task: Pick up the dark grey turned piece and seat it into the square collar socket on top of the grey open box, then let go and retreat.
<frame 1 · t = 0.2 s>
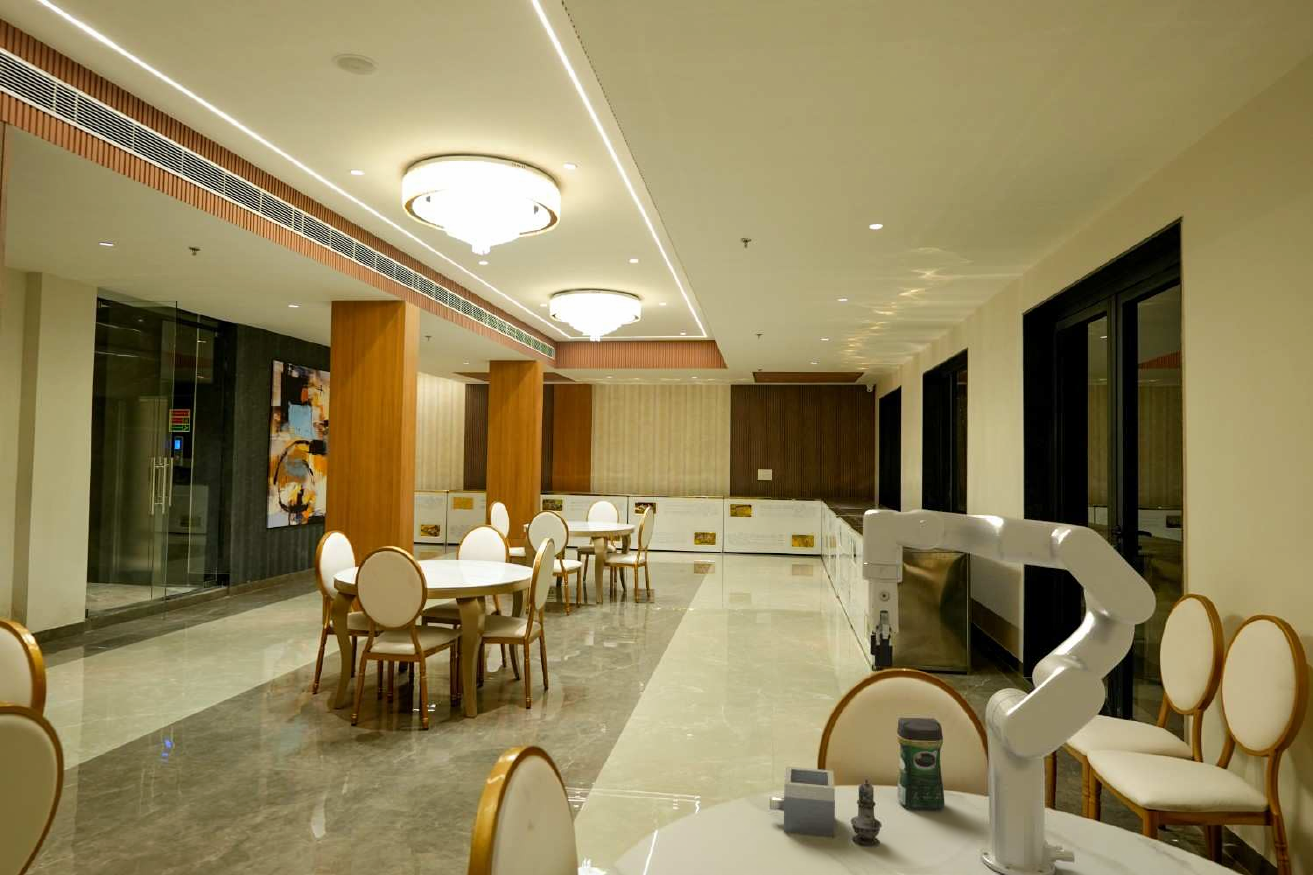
hand: (881, 660, 151), 36 cm above the table, tool pointing down, fingers open, 9 cm apart
dark grey turned piece: (866, 842, 152), on the table
coffee jar: (920, 805, 170), on the table
grey open box: (809, 824, 159), on the table
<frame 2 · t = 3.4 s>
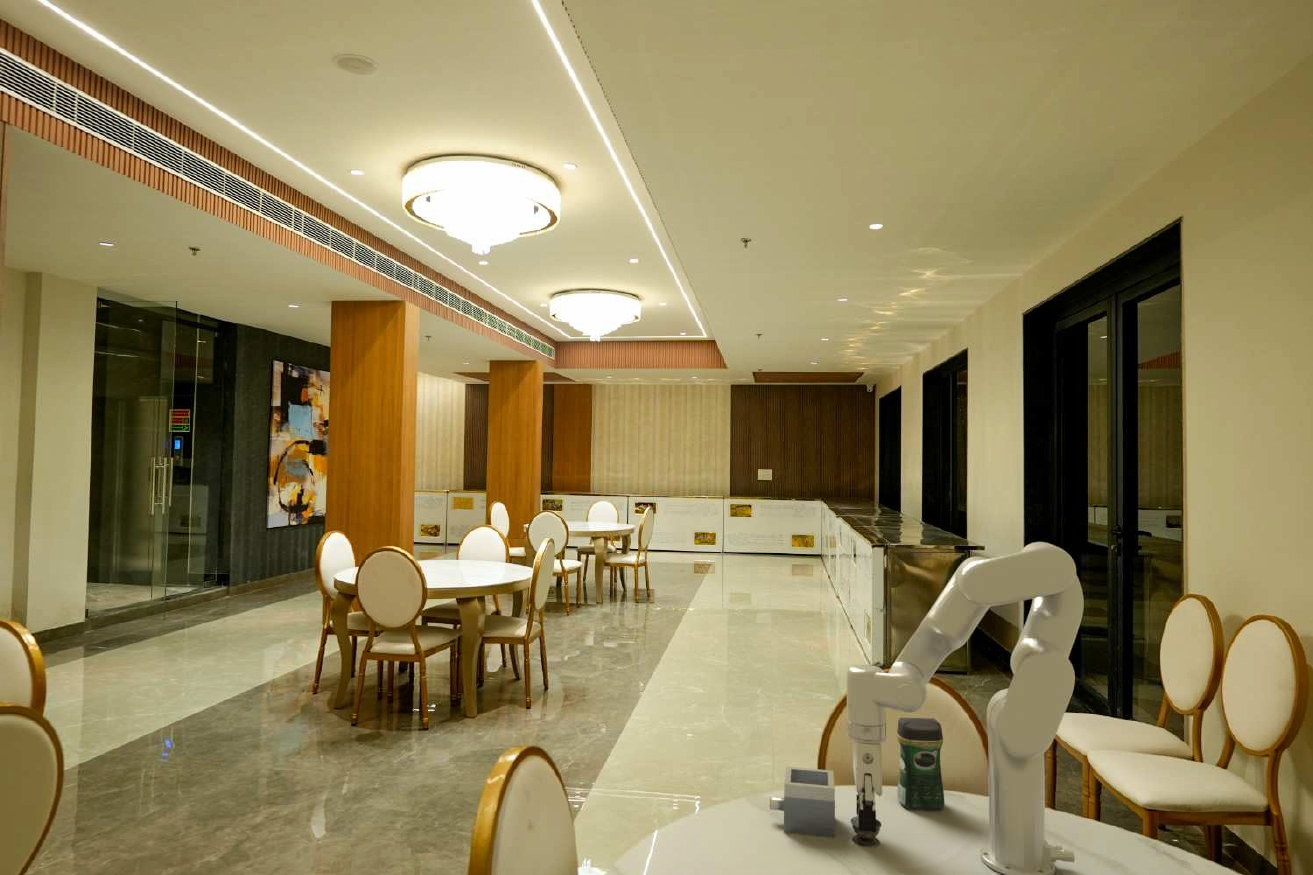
hand: (865, 822, 152), 4 cm above the table, tool pointing down, fingers closed on dark grey turned piece, 5 cm apart
dark grey turned piece: (865, 842, 152), on the table, touching gripper
everything else where it was.
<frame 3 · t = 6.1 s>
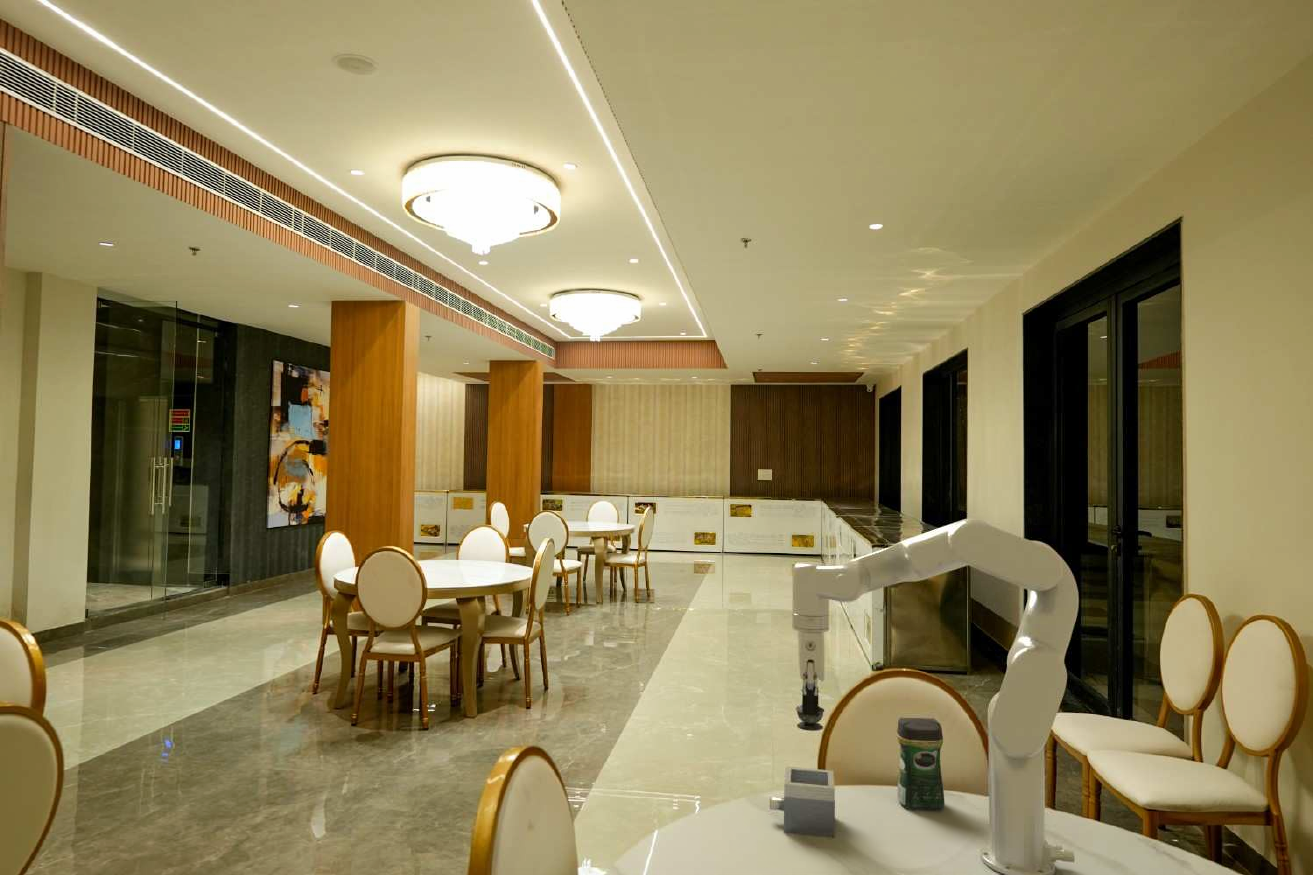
hand: (810, 709, 160), 23 cm above the table, tool pointing down, fingers closed on dark grey turned piece, 5 cm apart
dark grey turned piece: (809, 727, 160), point 20 cm above the table, touching gripper
everything else where it was.
when the fingers open (11 cm above the table, at t = 9.1 s): dark grey turned piece stays where it is, resting on grey open box.
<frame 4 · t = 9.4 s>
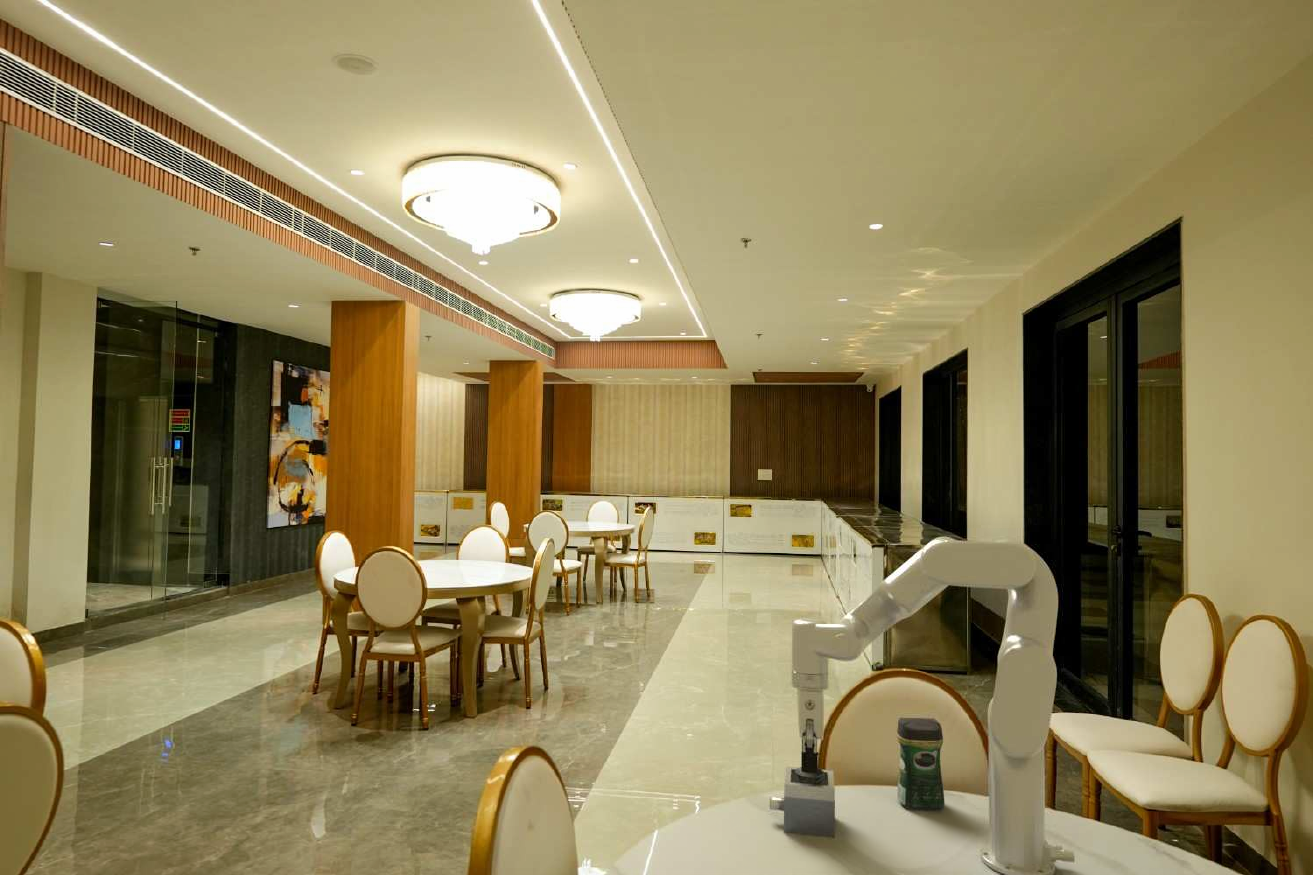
hand: (809, 763, 160), 12 cm above the table, tool pointing down, fingers open, 9 cm apart
dark grey turned piece: (809, 790, 159), point 7 cm above the table, touching grey open box
everything else where it was.
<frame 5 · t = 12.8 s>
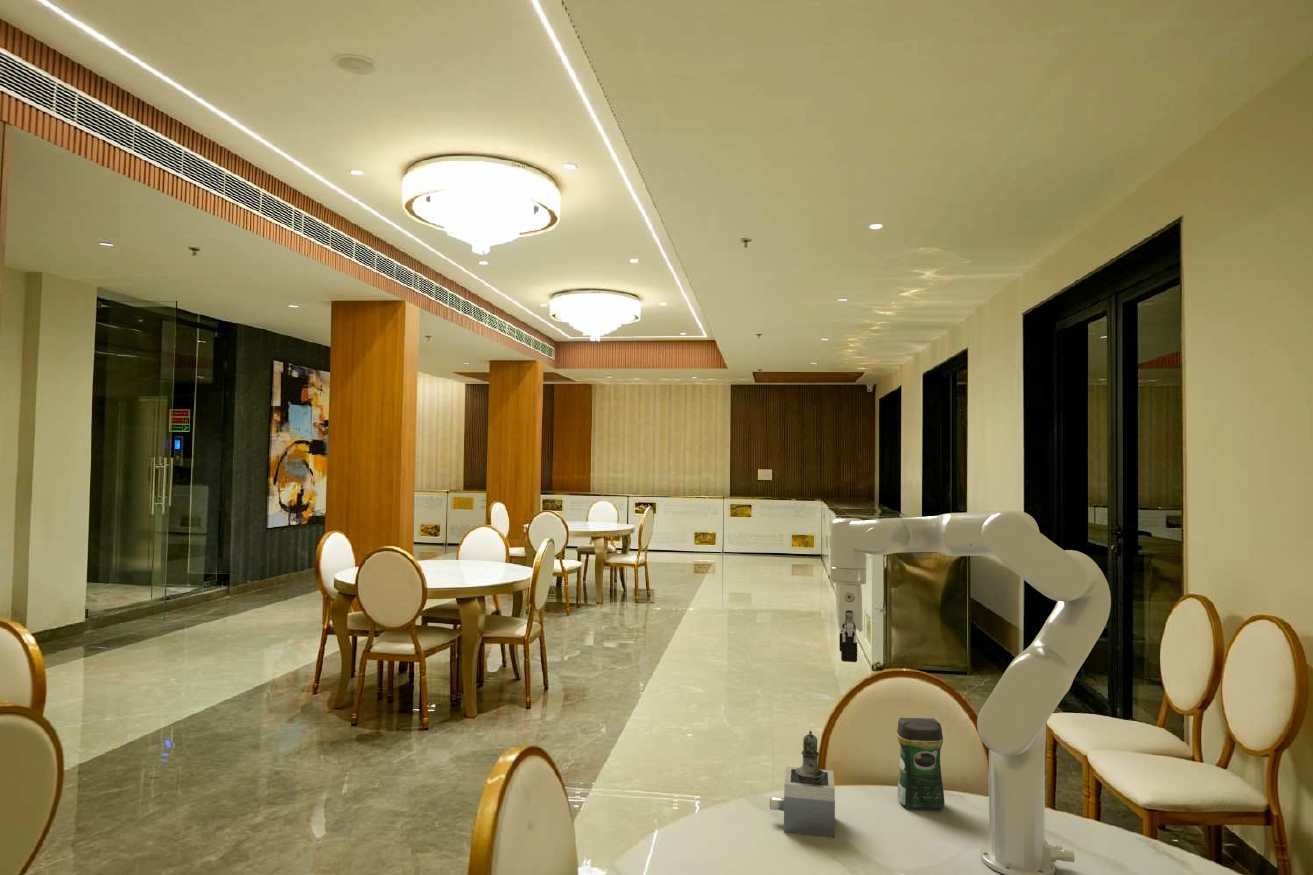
hand: (848, 656, 165), 33 cm above the table, tool pointing down, fingers open, 9 cm apart
nothing on the table moved.
at the end: dark grey turned piece 0.1 cm off-centre on the grey open box, point 6.8 cm above the grey open box's base; dark grey turned piece tilted 0°; the gripper is holding nothing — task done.
